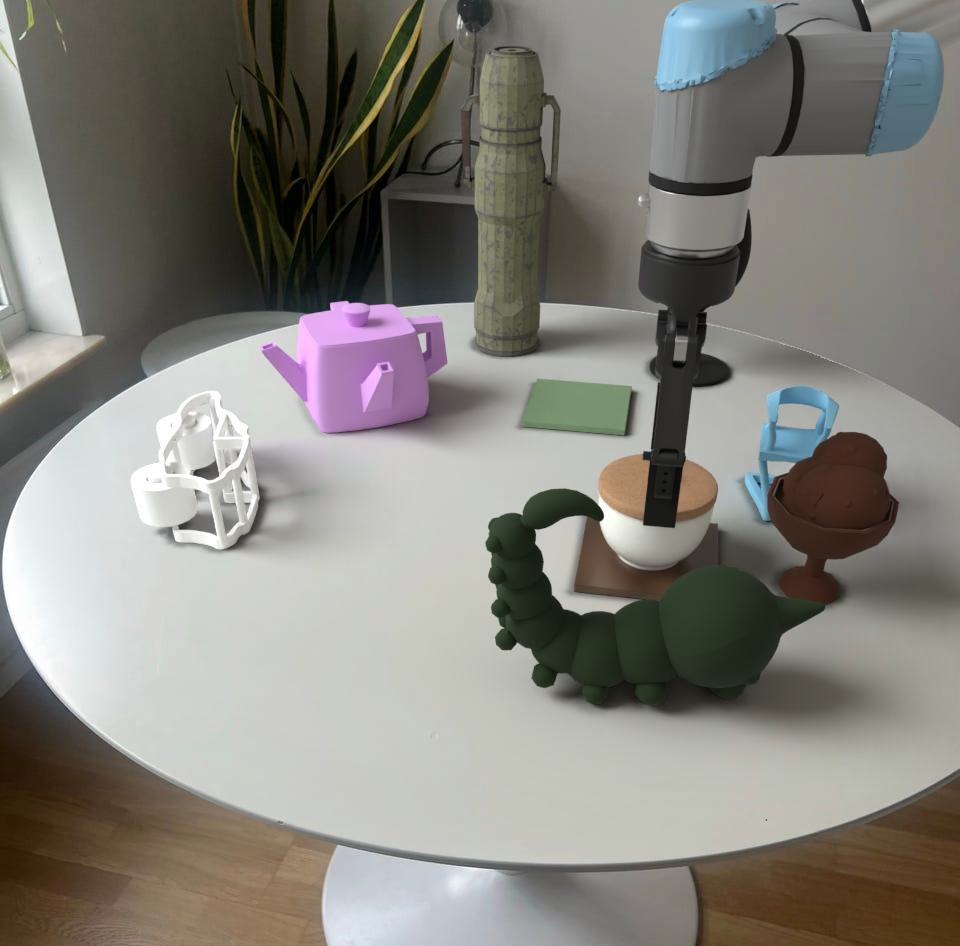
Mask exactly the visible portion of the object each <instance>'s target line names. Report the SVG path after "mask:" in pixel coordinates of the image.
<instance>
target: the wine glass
mask: <svg viewBox="0 0 960 946" xmlns="http://www.w3.org/2000/svg"><path fill="white" fill-rule="evenodd" d="M752 231H753V230H752V219H751V212H750V209H749V208H748V211H747V218H746V224H745V231H744V237H743V239H742V241H741V242H739V243H738V244H736V245H737V247H738V248H739V250H740V258H739V265H738V271H737V278H736V284H735V288H736V287H737V286H738V285H739V283H740V282H741V280H742V278H743V277H744V274H745V273H746V270H747V267H748V264H749V261H750V257H751V252H752V242H753V241H752V240H753V239H752V237H753V236H752V235H753V233H752ZM710 307H712V306H711V305H710V306H706V307H704V308H702V309H700V310H698V312H706V310H707V309H709V308H710ZM656 359H657V355H656V356H654V357H653V358H652V359H651V360H650V362H649V367H648V368H649V371H650V373H651V374H652V375H653V376H654V377H656V378H657V379H659V378H658V377H657V376H656V374H655V368H656ZM729 374H730V369H729V366H728V365H727V364H726V363H725V362H724V361H723V360H721V359H720V358H718V357H717V356H714V355H710V354H707V353H702V352H701V356H700V366H699V372H698V376H697V378H696V379H695V382H693V387H692V388H695V387H696V388H698V387H710V386H713V385H717V384H720V383H723V381H725V380H726V379H727V378H728V377H729Z"/></svg>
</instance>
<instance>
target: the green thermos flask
mask: <svg viewBox="0 0 960 946" xmlns="http://www.w3.org/2000/svg"><path fill="white" fill-rule="evenodd" d="M474 104H477V106H479V126H480V136H479V143H478V144H479V147H478V150H477V154H476V157H475V160H474V176H473V177H472V176H471V175H472V173H471V172H472V168H471V167H472V162H471V157H472V156H471V151H472V150H471V148H472V147H471V143H472V142H471V108H472V106H473V105H474ZM549 105H550V106H551V108H552V111H553V117H552V118H553V119H552V142H551V160H550V161H551V162H550V181H548V177H546V171H547V170H546V162H545V161H546V160H545V157H544V153H543V149H542V145H543V144H542V143H543V142H542V140H543V139H542V136H541V128H542V126H543V121H544V120H543V118H544V117H543V115H544V108H546V106H549ZM561 113H562V109H561V107H560V105H559V102H558V101H557V99H556V97H555V95H552V94H548V93H547V92H545V77H544V73H543V69H542V64H541V60H540V56H539V52H537V51H534V50H533V48H532V47H528V46H521V45H501V46H494V47H492V49H491V50H489V51H487V52H486V53H485V56H484V60H483V64H482V67H481V73H480V77H479V91H478V92H477V93H474V94H471V95H469V96H468V98H467V99H466V101H465V102H464V103H463V105H462V106H461V107H460V124H461V125H460V126H461V152H462V153H461V154H462V183H463V184H464V185H465V187H467V188H468V189H469V191H470V190H472V194H474V212H475V213H476V216H477V219H478V220H477V222H478V223H477V230H478V231H477V281H478V282H477V290H476V294H475V298H474V301H473V328H474V330H475V336H474V339H475V340H474V346H475V347H476V349H477V350H478V351H480V352H482V353H483V354H487V355H491V356H495V357H517V356H518V357H519V356H524V355H527V354H530V353H531V352H533V351H535V350H536V349H537V348H538V346H539V345H538V342H539V341H538V331H539V328H540V322H541V321H540V320H541V302H540V298H539V295H538V272H539V249H540V248H539V247H540V225H541V223H540V221H541V216H542V215H543V212H544V209H545V196H546V195H547V194H548V192H555V191H556V188H557V183H558V171H559V155H560V153H559V152H560V134H561V133H560V132H561V115H562V114H561Z"/></svg>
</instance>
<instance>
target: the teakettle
mask: <svg viewBox="0 0 960 946" xmlns="http://www.w3.org/2000/svg"><path fill="white" fill-rule="evenodd" d="M329 305H330V310H324V311H319V312H313V313H308V314H304V315H302V316H300V318H299V322H298V324H299V325H298V329H297V330H298V332H297V342H296V360H295V359H293V358H292V357H291V356H290V355H289V354H287V352H285V351H284V350H283V349H282V348H281V347H279V346H278V345H277V344H276V341H272V342H268V343H265V344H263V345H259V349H260V351H261V353H262V355H263V356H264V358H266V360H267V361H268V362H269V363H270V364H271V365H272V367H273V368H274V369H275V370H276V371H277V372H278V374H280V376H281V377H282V378H283V379H284V381H285V382H286V383H287V384H288V385H289V386H290V387H291V388H292V390H293V391H294V392H295V393H296V394H297V396H299V398H300V399H301V400H302V401H303V402H304V403H305V406H306V408H307V410H308V412H309V413H310V414H309V415H310V416H311V418H312V419H313V421H314V422H315V425H316V426H317V427H318V429H319V430H320V431H321V432H323V433H328V434H332V433H347V432H354V431H362V430H368V429H369V430H371V429H376V428H382V427H387V426H392V425H397V424H401V423H405V422H411V421H414V420H418V419H421V418H423V417H425V416H426V414H427V412H428V411H427V410H428V406H429V403H430V389H429V380H428V379H429V378H430V377H431V376H433V375H434V374H436V373H437V372H438V371H440V370H442V369H443V368H444V367H445V366H447V365H448V357H447V356H448V355H447V348H446V342H445V341H446V340H445V332H444V324H443V320H441V317H439V316H438V315H437V314H436V315H435V314H434V315H425V316H413V317H407V316H405V314H403V313H402V311H401V310H400V309H399V308H398V307H397V306H396V305H394V304H393V303H384V304H370V305H369V304H366V303H364V302H351V303H350V302H349V301H348V300H344V301H337V302H336V301H335V302H330V303H329ZM421 334H425V347H426V350H425V351H424V352H423V350H422V345H421V342H420V338H419V335H421Z"/></svg>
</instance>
